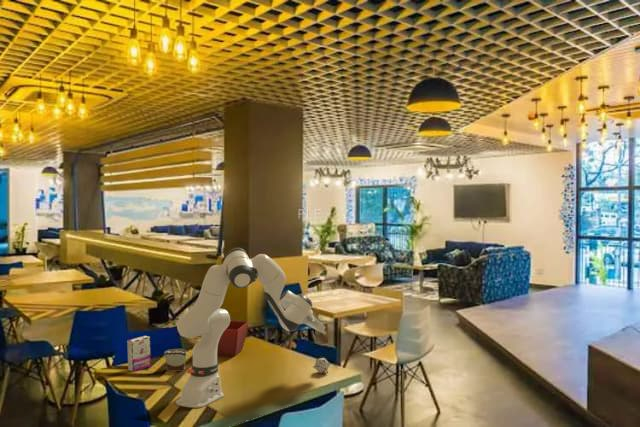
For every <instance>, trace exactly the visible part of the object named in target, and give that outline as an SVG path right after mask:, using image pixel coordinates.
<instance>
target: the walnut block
mask: <svg viewBox="0 0 640 427" xmlns="http://www.w3.org/2000/svg"><path fill="white" fill-rule="evenodd" d="M320 322H321V323H322V324H323V325H324V326H325V327H326V328H325V329H324V330H325V331H326V334H325V335H324V334H322V333H321V332H319V331H317V330H315V329H314V332H315V333H314V334H315V335H314V336H315V337H314V338H315V339H314V340H315V343H316V344H318V345H324V344H329V325H328V324H329V323H328V322H325V321H320Z"/></svg>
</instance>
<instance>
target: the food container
mask: <svg viewBox="0 0 640 427" xmlns="http://www.w3.org/2000/svg"><path fill="white" fill-rule="evenodd" d="M163 356H164V357H165V364H166V371H170V370H175V371H176V372H179V371H181V372H184V371H185V370H186V360H187V359H186V358H187V356H188V352H187V350H186V349H184V348H172V349H171V348H170V349H167V350H165V351H164V353H163Z"/></svg>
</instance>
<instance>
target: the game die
mask: <svg viewBox="0 0 640 427" xmlns="http://www.w3.org/2000/svg"><path fill="white" fill-rule="evenodd" d="M325 357H326V356H324V355H323V357H320V358H318V357H316V358H315V359H316V361H315V363H314V366H312V368H314V369H315V370H316V371H317V372H318V375H320V374H321V373H327V374H328V369H329V367H330V365H331V364H332V363H331V362H329V361H328V359H326V358H325Z"/></svg>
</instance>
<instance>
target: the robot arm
mask: <svg viewBox="0 0 640 427" xmlns="http://www.w3.org/2000/svg"><path fill="white" fill-rule="evenodd" d="M220 262H221V264H214V265H211V266H210V268H209V269H208V270H207V272H206V274H205V276H204V279H203V281H202V284H201V287H200V288H201V289H200V292H199V294H198V297H197V299H196V301H195V302H194V303H193V305H192V306H191V308H189V310H187V311H186V312H185V313H184V314H183V315H181V316H180V317H179V318H178V319H177V324H176V328H177V332H178V334H179V335H181V337H182V338H196V337H200V336H201V337H200V339H199V341H198V342H197V343H195V345H193V348H192V364H191V368H188V369H187V370H186V371H187V374H190V375H189V377H188V378H187V380H186V382H185V384H184V385H183V386H182V389H181V395H180V397H179V398H177V400H176V401H175V404H176V405H177V406H180V407H184V408H196V409H197V408H203V407H205V406H207V405H209V404H211V403H213V402H216V401H217V400H219V399H221V398H223V397H225V394H224V392H222V383H221V376H220V375H219V372H218V371H219V362H218V355H217V348H218V343H219V340H220V337H221V335H222V334H223V332H224V331H225V330H226V328H227V327H228V326H229V324H230V321H231V315H230V313H229V312H228V310H226V309H225V308H221V307H222V305H223V303H224V300H225V296H226V294H227V290H228V287H229V285H230V283H231V285H233V286H234V287H235V288H237V289H243V288H246V287H248V286H250V285H251V284H253V283H255V282H256V281H257V280H258V281H259V282H260V283H261V284H262V286H263V289H264V293H263V296H264V298H265V301H266V302H267V304H268V306H269V307H270V309H271V311H272V312H273V314H274V315H275V317H276V318H277V321H278V322H279V324H280V326H281V327H282V328H283V329H284V330H285V331H287V332H290V333H291V332H295V331H297V330H298V329H299V326H300V325H306V326H309V327H310V328H312V330H313V329H314V331H315V330H317V331H319V332H321V333H322V334H324V335H325V334H326V331H325V330H324V329H325V328H326V327H325V326H324V325H323V324H322V323H321V322H322V321H320V320H319V319H318V318H316V317H314V311H313V310H312V308H313V303H312V300H311V299H310V298H308V296H307V295H305V294H304V293H300V294H295V293H294V292H292V291H290V290H289V289H287V290H285V291H284V292H283V290H284V288H285V286H286V281H287V277H286V273H285V271H284V270H283V269H282V267H281V266H280V265H279V264H278V263H277V262H276V261H275V260H274V259H272V258H271V257H270V256H268V254H265V253H259V254H257V255H255V256H254V257H252V258H250V256H249V253H247V251H246V250H245V249H243V248H241V247H233V248H231V249H229V250H228V251H227V253H226V254H225V256H224V257H223V258H222V259H221V260H220ZM282 292H283V293H282Z"/></svg>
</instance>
